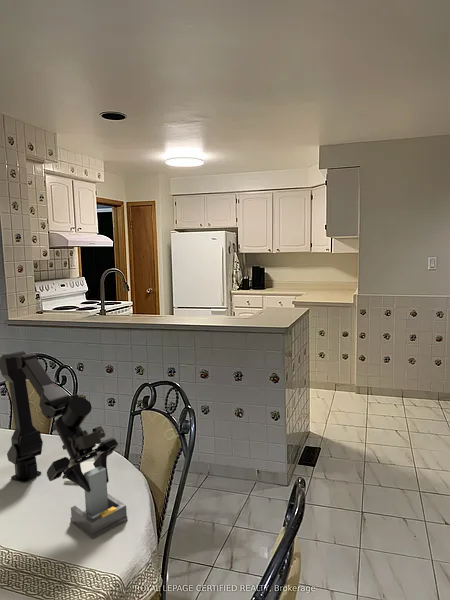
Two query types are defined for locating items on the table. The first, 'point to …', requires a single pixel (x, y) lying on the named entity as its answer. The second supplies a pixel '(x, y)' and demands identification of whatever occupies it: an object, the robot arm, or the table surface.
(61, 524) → the table surface
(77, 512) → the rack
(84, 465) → the external hard drive
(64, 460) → the robot arm
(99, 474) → the block
